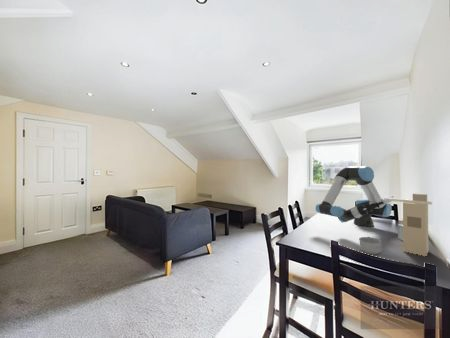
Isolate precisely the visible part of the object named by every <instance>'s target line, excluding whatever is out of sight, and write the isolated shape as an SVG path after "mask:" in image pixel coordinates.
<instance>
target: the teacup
mask: <svg viewBox="0 0 450 338" xmlns="http://www.w3.org/2000/svg"><path fill="white" fill-rule="evenodd" d="M359 247H360V249H361V251H363V252H364V253H366V254H368V255H375V256H376V255H378V254H380V253H381V252H382V241H381V240H380V239H378V238H375V237H372V236H371V237H370V236H362V237H359Z"/></svg>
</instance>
